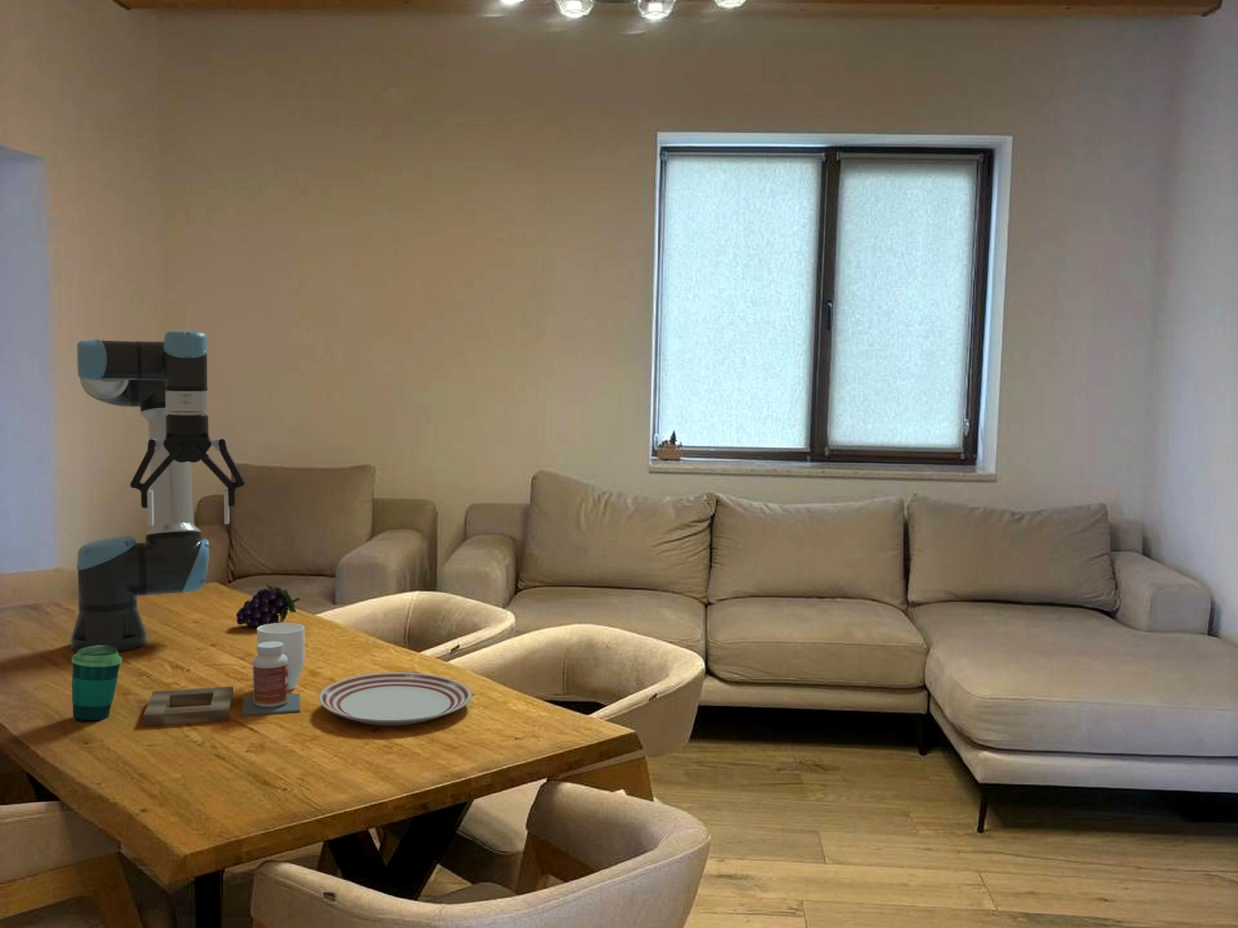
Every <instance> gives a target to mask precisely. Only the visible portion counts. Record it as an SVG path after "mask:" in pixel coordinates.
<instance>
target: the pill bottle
mask: <svg viewBox="0 0 1238 928" xmlns="http://www.w3.org/2000/svg"><path fill="white" fill-rule="evenodd" d="M283 650H284V644H283V643H282V642H275V641H273V642H263V643H260V644H258V645H257V644H256V653H258V654H259V655H257V656H255V657H254V658H253V661H252V674H253V675H252V679H253V680H252V682H253V688H252V689H253V696H254V704H255V705H257V706H259V707H267V708H270V707H277V706H281V705H284V704H286V703H287V702H288V700H289V694H290V693H289V691H290V690H289V685H288V658H287V657H286V656H285V655H284V654H282V652H283Z"/></svg>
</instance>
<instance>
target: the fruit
mask: <svg viewBox="0 0 1238 928" xmlns="http://www.w3.org/2000/svg"><path fill="white" fill-rule="evenodd" d="M265 585H266V587H267V588H263V589H259V590H258V591H257V593H256V594H254V595H253V596H252V599H250V600H249V599H248V600H246V601H245V602H244V605H243V606H242V607H241V608H240V609H239V610H237V612H236V614H235V615H236V624H238V625H240V626H242V625H246V626H247V627H248V628H249V627H251V628H252V627H253V626H254V627H256V626H262V625H266V624H273V623H284V621H285V620H286V619H287V616H288V611H289V612H290V613H291V614H292V613H293V614H294V613H297V609H296V607H295V606H296V605H295V604H294V603H296V602H298V601H300V599H301V598H300V597H297V598H295V599H292V597H291V596H290V594H289V592H288V590H287V589H282V588H280V587H279V586H273V585H270V584H267V583H265Z"/></svg>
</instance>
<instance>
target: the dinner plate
mask: <svg viewBox="0 0 1238 928" xmlns="http://www.w3.org/2000/svg"><path fill="white" fill-rule="evenodd" d="M471 699H472V692H471V689H469V688H468V686H467V685H465V684H464V683H461V682H460V681H458V680H455V679H452V678H449V677H446V676H441V675H436V674H430V673H421V672H402V671H399V672H398V671H397V672H396V671H393V672H389V671H388V672H377V673H376V672H374V673H368V674H359V675H356V676H351V677H347V678H344V679H341V680H339V681H336V682H334V683H331V684H330V685H327V686H326V687H325V688H323V689H322V690H321V692H320V693H319V695H318V702H319V703H320V705H321V706H322V707H323V708H324V709H326V710H327V711H329V712H331V713H333V714H335V715H337V716H339V717H342V718H345V719H348V720H351V721H356V722H358V723H362V724H367V725H373V726H384V727H385V726H388V727H389V726H390V727H391V726H406V725H407V726H408V725H412V724H413V725H414V724H418V723H419V724H420V723H424V722H426V721H427V722H428V721H430V720H434V719H437V718H441V717H443V716H446V715H448V714H451V713H453V712H456V711H458V710H460V709H462V708H464V707H465V706H466V705H468V703H470V701H471Z"/></svg>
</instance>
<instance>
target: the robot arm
mask: <svg viewBox="0 0 1238 928" xmlns="http://www.w3.org/2000/svg"><path fill="white" fill-rule="evenodd" d="M207 343H208V342H207V336H206V334H205V333H204V332H202V331H177V330H176V331H173V330H172V331H167V332H165V334H164V341H150V340H149V341H142V340H139V341H130V340H129V341H128V340H100V339H93V340H92V339H91V340H80V341H79V342H78V343H77V345H76V349H77V350H76V354H77V355H76V357H77V358H76V359H77V360H76V361H77V362H76V363H77V376H78V377H79V380H80V384H81V387H82V389H83V390H84V392H85V393H86V394H88V396H90V397H92V398H93V399H95V400H98V401H99V402H102V403H106V404H109V405H113V406H118V407H130V408H131V407H132V408H133V407H135V408H139V409H140V410H139V411H140V416H141V417H142V418H143V419H145V420H146V421H147V424H148V441H147V449H146V450H147V451H146V453H145V455H144V457H143V458H142V461H141V462H140V464H139V466H138V468H137V470H136V472H135V473H134V475H133V478H132V480H131V481H130V484H129V485H130V488H131V489H137V490H138V491H140V500H141V502H140V505H141V508H142V509H147V526H148V527H151V528H150V529H149V530H148V531H147V532H146V533H145V542H137V539H136V538H135V536H131V535H126V536H120V535H119V536H114V537H108V538H107V537H106V538H102V539H98V540H93V541H91V542H87V543H86V544H83V545H82V546H81V547H80V548H79V549H78V551H77V562H76V563H77V564H76V567H75V568H76V570H77V589H78V590H77V591H78V592H77V593H78V595H77V596H78V597H77V598H78V601H77V602H78V614H77V617H76V620H75V623H74V627H73V629H72V633H71V636H70V649H71V650H72V651H74V652H77V651H78V650H79V649H82V648H85V647H90V646H97V645H110V646H115V647H116V648H117V651H118V653H119V652H124V651H130V650H133V649H136V648H139V647H140V648H141V647H142V646H144V645H145V644H146V643H147V640H148V639H147V631H146V628H145V625H144V622H143V620H142V616H141V615H140V612H139V610H138V596H139V597H141V596H154V595H168V594H169V595H170V594H184V593H190V592H196V591H200V590H201V589H202V588H203V587H204V586H205V583H206V580H207V574H208V569H209V567H208V566H209V560H210V559H209V558H210V556H209V555H210V542H209V540H208V539H207V538H202V530H201V529H199V528H198V527H197V526H195V524H194V506H193V505H194V504H193V503H194V502H193V485H192V484H193V482H192V463H198V462H200V461H201V462H202V463H203V464H204V465H206V467H207V468H208V469H210V470H209V471H211V472H212V473H213V474H214V475H215V476H216V478H218V479H219V481H220V482H221V483H222V484H223V485H224V486H225V487H226V488H224V490H223V507H224V508H223V511H224V512H223V514H224V517H223V518H224V520H223V522H224V525H229V524H230V507H234V506H235V504H236V490H237V489H238V488H240V487H244V485H245V483H246V482H245V479H244V477H243V475H242V474H241V472H240V470H239V468H238V467H237V464H236V462H235V460H234V459H233V458H232V457H233V456H232V455H231V454H230V452H229V450H228V446H227V445H228V444H227V440H226V439H225V437H221V438H219V439H211V438H210V436H209V432H210V431H209V416H208V414H206V412H208V411H209V390H208V353H209V349H208V346H207V345H208V344H207ZM212 446H213V447H214V449H215V450H216V451H219V452H220V455H221V457H222V459H223V461H224V462H225V464H226V465H227V468H228V470H229V471H230V473H231V474H232V476H233V478H234V480H235V481H232V479H231V478H230V477H229V476H228V474H226V473H225V472H224V470H223V469H222V468H221V467H219V465H218V464H217V463H216V462H215V461H214V460H213V459H212V457H211V456H210V455H209V453H207V452H208V451H210V448H211V447H212ZM148 468H149V469H150V473H149V474H150V476H149V477H148V478H147V479H146V480H145V482H142V478H143V477H144V474H145V473H146V471H147V469H148Z"/></svg>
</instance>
